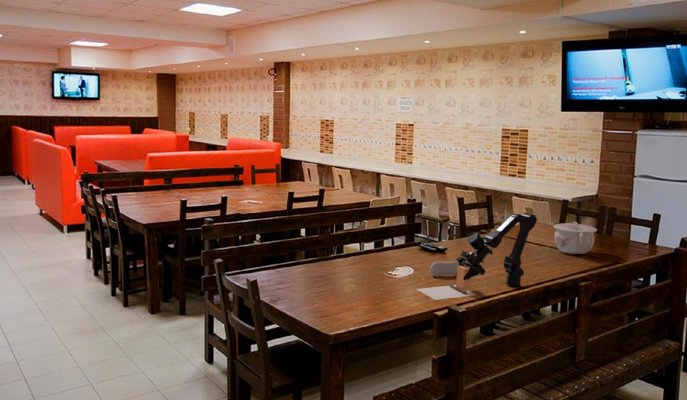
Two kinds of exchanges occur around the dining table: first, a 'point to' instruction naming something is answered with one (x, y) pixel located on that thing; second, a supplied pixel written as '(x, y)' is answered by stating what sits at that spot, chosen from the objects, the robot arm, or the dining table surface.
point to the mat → (443, 292)
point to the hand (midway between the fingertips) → (460, 278)
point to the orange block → (461, 278)
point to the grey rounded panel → (444, 268)
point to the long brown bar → (458, 290)
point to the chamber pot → (574, 237)
